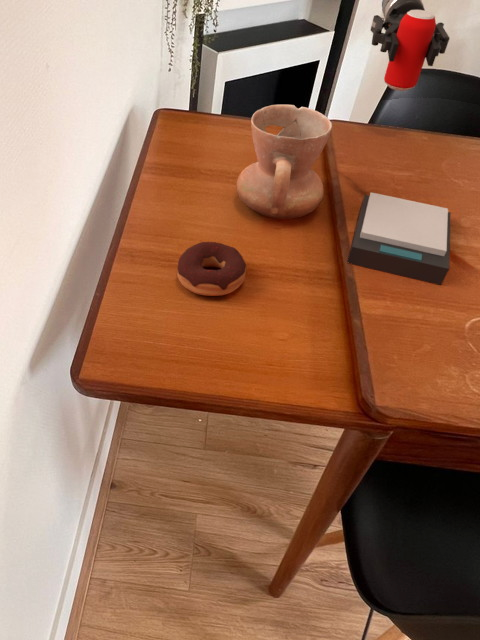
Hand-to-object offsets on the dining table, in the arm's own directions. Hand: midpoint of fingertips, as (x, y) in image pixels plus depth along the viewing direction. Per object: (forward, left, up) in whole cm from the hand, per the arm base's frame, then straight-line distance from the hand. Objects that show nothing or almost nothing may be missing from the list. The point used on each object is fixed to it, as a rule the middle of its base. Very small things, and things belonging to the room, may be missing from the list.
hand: (413, 55), depth 92 cm
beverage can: (+4, -3, -7) cm, 9 cm away
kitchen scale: (-25, +20, -17) cm, 37 cm away
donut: (-20, +51, -18) cm, 58 cm away
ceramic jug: (-8, +31, -18) cm, 37 cm away
